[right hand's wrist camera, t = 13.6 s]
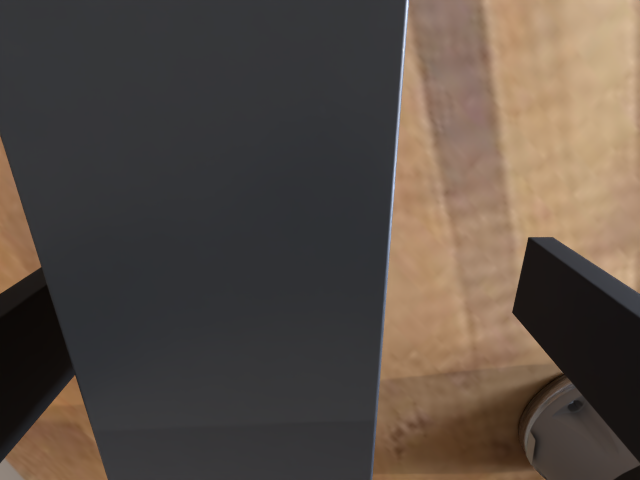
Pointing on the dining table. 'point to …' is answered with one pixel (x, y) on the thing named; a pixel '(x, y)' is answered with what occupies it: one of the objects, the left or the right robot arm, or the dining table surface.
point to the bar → (213, 221)
